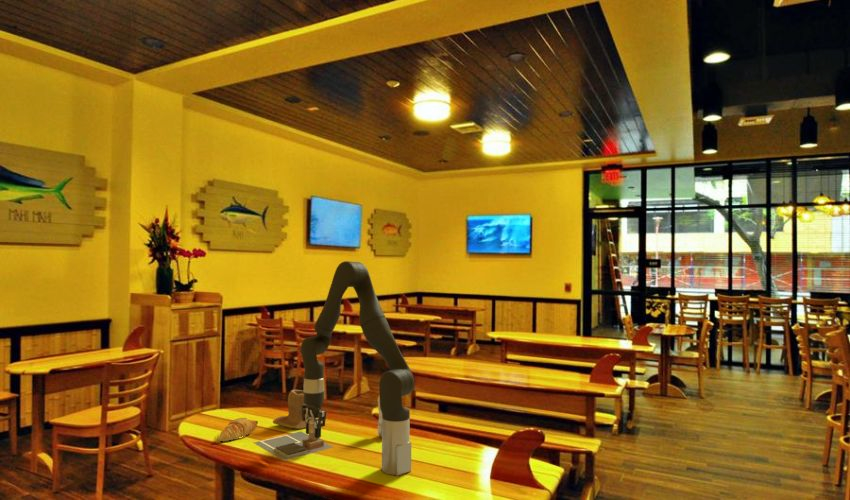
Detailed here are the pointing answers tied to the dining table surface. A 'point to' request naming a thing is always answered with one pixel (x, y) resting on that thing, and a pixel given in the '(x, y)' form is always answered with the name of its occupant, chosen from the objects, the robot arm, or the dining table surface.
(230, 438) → the croissant
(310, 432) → the stamp
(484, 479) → the dining table surface
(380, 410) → the plastic bottle
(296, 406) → the tan boot
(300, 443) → the desk board
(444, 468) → the dining table surface
